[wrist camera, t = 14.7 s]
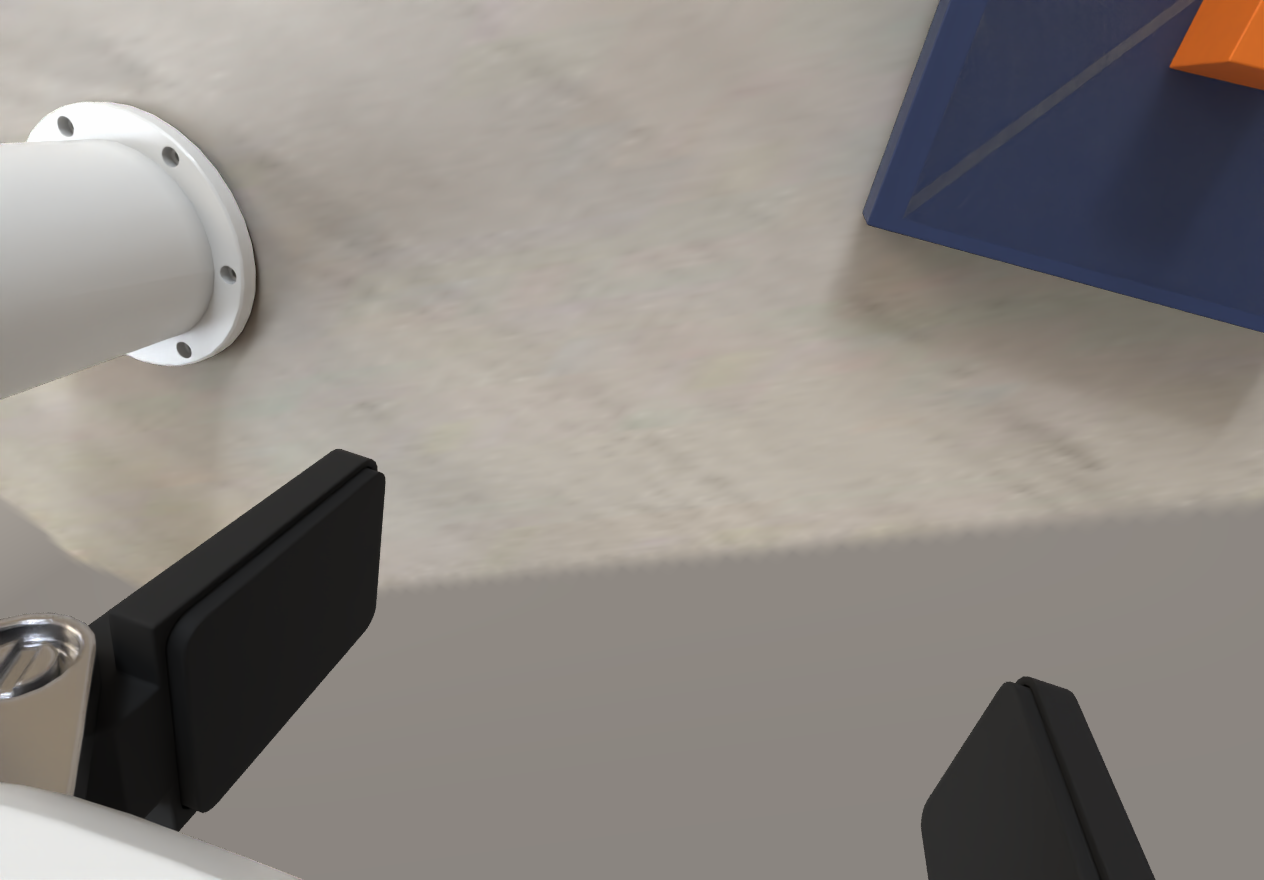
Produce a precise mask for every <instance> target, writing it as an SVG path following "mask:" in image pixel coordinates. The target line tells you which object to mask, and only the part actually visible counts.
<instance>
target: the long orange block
mask: <svg viewBox="0 0 1264 880" xmlns="http://www.w3.org/2000/svg"><path fill="white" fill-rule="evenodd" d="M1170 68H1171V69H1176V70H1180V71H1184V72H1188V73H1193V74H1197V75H1201V76H1205V77H1209V78H1214V79H1218V80H1222V81H1226V82H1230V83H1235V84H1239V85H1243V86H1247V87H1252V88H1256V89H1260V90H1264V0H1203V1H1202V3H1201V5H1200V7H1199V9H1198V11H1197V13H1196V15H1195V17H1194V19H1193V21H1192V23H1191V25H1190V27H1189V29H1188V31H1187V33H1186V35H1185V37H1184V39H1183V41H1182V43H1181V45H1180V46H1179V48H1178V50H1177V52H1176V54H1175V56H1174V58H1173V60H1172V62H1171V64H1170Z"/></svg>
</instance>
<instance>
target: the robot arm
mask: <svg viewBox="0 0 1264 880" xmlns="http://www.w3.org/2000/svg"><path fill="white" fill-rule="evenodd" d="M255 281H256V268H255V261H254V254H253V247H252V243H251V240H250V236H249V233H248V230H247V227H246V223H245V220H244V218H243V216H242V213H241V211H240V209H239V207H238V205H237V203H236V201H235V198H234V196H233V194H232V192H231V191H230V189H229V188H228V186H227V185H226V183H225V182H224V180H223V179H222V177H221V175H220V174H219V172H218V171H217V169H216V168H215V167H214V166H213V165H212V164H211V162H210V161H209V160H208V159H207V158H206V157H205V155H204V154H203V153H202V152H201V151H200V150H199V148H198V147H197V146H195V145H194V144H193V143H192V142H191V141H190V140H189V139H187V138H186V137H185V136H184V135H183V134H182V133H181V132H179V131H178V130H177V129H176V128H174V127H173V126H171V125H169V124H168V123H166V122H165V121H163V120H161V119H160V118H158V117H157V116H155V115H153V114H151V113H148V112H146V111H143V110H141V109H138V108H135V107H133V106H130V105H124V104H118V103H112V102H79V103H75V104H70V105H66V106H62V107H60V108H58V109H57V110H55V111H53V112H51V113H50V114H48V115H46V116H45V117H44V118H43V119H42V120H41V121H40V122H39V123H38V124H37V125H36V126H35V127H34V129H33V130H32V131H31V133H30V135H29V137H28V139H27V141H26V142H21V143H0V400H1V399H4V398H7V397H10V396H12V395H15V394H18V393H21V392H23V391H26V390H29V389H32V388H34V387H37V386H40V385H43V384H45V383H48V382H51V381H54V380H56V379H59V378H62V377H65V376H67V375H70V374H73V373H76V372H78V371H81V370H84V369H87V368H89V367H92V366H95V365H98V364H100V363H103V362H106V361H109V360H111V359H114V358H117V357H120V356H122V355H128V356H130V357H132V358H135V359H137V360H139V361H142V362H147V363H151V364H155V365H160V366H184V365H188V364H193V363H198V362H200V361H202V360H205V359H207V358H209V357H212V356H214V355H217V354H218V353H220V352H221V351H222V350H224V349H225V348H227V347H228V346H230V345H231V344H232V343H233V342H234V340H235V339H236V338H237V337H238V336H239V334H240V333H241V332H242V331H243V329H244V326H245V324H246V322H247V320H248V318H249V316H250V314H251V310H252V305H253V301H254V296H255ZM384 495H385V476H384V474H383V473H381V472H378V471H377V465H376V462H375V461H374V460H372V459H369V458H366V457H363V456H360V455H357V454H354V453H351V452H348V451H345V450H342V449H335V450H333V451H331V452H330V453H329V454H327V455H326V456H324V457H323V458H322V459H320V460H319V461H317V462H316V463H315V464H313V465H312V466H310V467H309V468H308V469H306V470H305V471H303V472H302V473H301V474H299V475H298V476H296V477H295V478H294V479H292V480H291V481H289V482H288V483H287V484H285V485H284V486H282V487H281V488H280V489H278V490H277V491H275V492H274V493H273V494H271V495H270V496H268V497H267V498H266V499H264V500H263V501H261V502H260V503H259V504H257V505H256V506H254V507H253V508H252V509H250V510H249V511H247V512H246V513H245V514H243V515H242V516H240V517H239V518H238V519H236V520H235V521H233V522H232V523H231V524H229V525H228V526H226V527H225V528H224V529H222V530H221V531H219V532H218V533H217V534H215V535H214V536H212V537H211V538H210V539H208V540H207V541H205V542H204V543H203V544H201V545H200V546H198V547H197V548H196V549H194V550H193V551H191V552H190V553H189V554H187V555H186V556H184V557H183V558H182V559H180V560H179V561H177V562H176V563H175V564H173V565H172V566H170V567H169V568H168V569H166V570H165V571H163V572H162V573H161V574H159V575H158V576H156V577H155V578H154V579H152V580H151V581H149V582H148V583H147V584H145V585H144V586H142V587H141V588H140V589H138V590H137V591H135V592H134V593H133V594H131V595H130V596H128V597H127V598H126V599H124V600H123V601H121V602H120V603H119V604H117V605H116V606H114V607H113V608H112V609H110V610H109V611H108V612H106V613H105V614H104V615H102V616H101V617H99V618H98V619H97V620H95V621H94V622H93V623H91V624H90V625H87V624H86V623H84V622H82V621H80V620H78V619H75V618H74V617H72V616H67V615H60V614H55V613H33V614H23V615H18V616H13V617H8V618H3V619H0V880H303V879H300V878H298V877H295V876H293V875H290V874H288V873H285V872H283V871H280V870H278V869H275V868H273V867H270V866H267V865H265V864H262V863H260V862H258V861H255V860H253V859H250V858H247V857H245V856H242V855H239V854H237V853H234V852H231V851H228V850H226V849H223V848H220V847H218V846H215V845H212V844H210V843H207V842H204V841H202V840H199V839H196V838H194V837H191V836H188V835H186V834H183V833H180V832H179V831H180V829H181V828H182V827H183V826H184V825H185V824H186V823H187V822H188V820H189V819H190V818H191V817H192V816H193V815H194V814H195V812H196V811H199V812H202V813H204V812H207V811H209V810H210V809H212V808H213V807H214V806H215V805H216V804H217V803H218V802H219V801H220V799H221V798H222V797H223V796H224V795H225V794H226V793H227V791H228V790H229V789H230V788H231V787H232V786H233V784H234V783H235V782H236V781H237V779H238V778H239V777H240V776H241V775H242V774H243V773H244V772H245V770H246V769H247V768H248V767H249V766H250V765H251V763H252V762H253V761H254V760H255V759H256V758H257V756H258V755H259V754H260V753H261V752H262V751H263V749H264V748H265V747H266V746H267V745H268V744H269V742H270V741H271V740H272V739H273V738H274V737H275V735H276V734H277V733H278V732H279V731H280V730H281V728H282V727H283V726H284V725H285V724H286V723H287V721H288V720H289V719H290V718H291V717H292V715H293V714H294V713H295V712H296V711H297V710H298V708H299V707H300V706H301V705H302V704H303V703H304V702H305V700H306V699H307V698H308V697H309V696H310V694H311V693H312V692H313V691H314V690H315V689H316V687H317V686H318V685H319V684H320V683H321V682H322V680H323V679H324V678H325V677H326V676H327V675H328V674H329V672H330V671H331V670H332V669H333V668H334V667H335V665H336V664H337V663H338V662H339V661H340V660H341V659H342V657H343V656H344V655H345V654H346V653H347V652H348V650H349V649H350V648H351V647H352V646H353V645H354V643H355V642H356V641H357V640H358V639H359V637H360V636H361V635H362V634H363V633H364V632H365V630H366V629H367V628H368V626H369V624H370V622H371V620H372V618H373V616H374V613H375V609H376V599H377V586H378V573H379V560H380V547H381V534H382V521H383V508H384ZM921 831H922V838H923V845H924V852H925V858H926V865H927V872H928V879H929V880H1155V878H1154V875H1153V873H1152V871H1151V869H1150V866H1149V864H1148V862H1147V859H1146V857H1145V855H1144V853H1143V850H1142V848H1141V846H1140V843H1139V841H1138V839H1137V837H1136V834H1135V832H1134V830H1133V827H1132V825H1131V823H1130V820H1129V819H1128V816H1127V814H1126V811H1125V809H1124V807H1123V804H1122V802H1121V800H1120V798H1119V795H1118V793H1117V791H1116V789H1115V786H1114V784H1113V782H1112V779H1111V777H1110V775H1109V773H1108V770H1107V768H1106V766H1105V763H1104V761H1103V759H1102V756H1101V754H1100V752H1099V750H1098V747H1097V745H1096V743H1095V740H1094V738H1093V736H1092V734H1091V731H1090V729H1089V727H1088V724H1087V722H1086V720H1085V717H1084V715H1083V713H1082V711H1081V708H1080V706H1079V704H1078V701H1077V699H1076V698H1075V696H1074V694H1073V693H1072V692H1071V691H1069V690H1067V689H1064V688H1061V687H1058V686H1055V685H1052V684H1049V683H1046V682H1043V681H1040V680H1037V679H1034V678H1031V677H1022V678H1020V679H1019V680H1018V681H1017V682H1016V683H1013V682H1006V683H1004V684H1003V685H1002V686H1001V687H1000V689H999V690H998V692H997V693H996V695H995V696H994V698H993V700H992V701H991V703H990V704H989V706H988V707H987V709H986V710H985V712H984V713H983V715H982V716H981V718H980V720H979V721H978V723H977V724H976V726H975V727H974V729H973V730H972V732H971V733H970V735H969V737H968V738H967V740H966V741H965V743H964V744H963V746H962V747H961V749H960V751H959V752H958V754H957V755H956V757H955V758H954V760H953V761H952V763H951V765H950V766H949V768H948V769H947V771H946V772H945V774H944V775H943V777H942V778H941V780H940V781H939V783H938V785H937V786H936V788H935V789H934V791H933V793H932V794H931V795H930V797H929V799H928V800H927V802H926V804H925V806H924V809H923V813H922V819H921Z"/></svg>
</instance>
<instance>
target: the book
mask: <svg viewBox="0 0 1264 880" xmlns="http://www.w3.org/2000/svg"><path fill="white" fill-rule="evenodd" d="M1202 1H1203V0H940V1H939V4H938V7H937V10H936V12H935V15H934V18H933V21H932V23H931V26H930V29H929V32H928V34H927V37H926V40H925V43H924V45H923V48H922V51H921V53H920V56H919V59H918V62H917V64H916V67H915V70H914V73H913V75H912V78H911V81H910V84H909V86H908V89H907V92H906V95H905V97H904V100H903V103H902V106H901V108H900V111H899V114H898V116H897V119H896V122H895V125H894V127H893V130H892V133H891V136H890V138H889V141H888V144H887V147H886V149H885V152H884V155H883V158H882V160H881V163H880V166H879V169H878V171H877V174H876V177H875V179H874V182H873V185H872V188H871V190H870V193H869V196H868V199H867V201H866V204H865V207H864V210H863V215H864V218H865V220H866V223H867V224H868V225H870V226H873V227H877V228H880V229H884V230H888V231H891V232H895V233H899V234H902V235H906V236H910V237H913V238H917V239H921V240H924V241H928V242H932V243H935V244H939V245H943V246H946V247H950V248H954V249H958V250H961V251H965V252H969V253H972V254H976V255H980V256H983V257H987V258H991V259H994V260H998V261H1002V262H1005V263H1009V264H1013V265H1016V266H1020V267H1024V268H1027V269H1031V270H1035V271H1038V272H1042V273H1046V274H1049V275H1053V276H1057V277H1060V278H1064V279H1068V280H1071V281H1075V282H1079V283H1083V284H1086V285H1090V286H1094V287H1097V288H1101V289H1105V290H1108V291H1112V292H1116V293H1119V294H1123V295H1127V296H1130V297H1134V298H1138V299H1141V300H1145V301H1149V302H1152V303H1156V304H1160V305H1163V306H1167V307H1171V308H1174V309H1178V310H1182V311H1185V312H1189V313H1193V314H1196V315H1200V316H1204V317H1208V318H1211V319H1215V320H1219V321H1222V322H1226V323H1230V324H1233V325H1237V326H1241V327H1244V328H1248V329H1252V330H1255V331H1259V332H1263V333H1264V90H1260V89H1256V88H1252V87H1247V86H1243V85H1239V84H1235V83H1230V82H1226V81H1222V80H1218V79H1214V78H1209V77H1205V76H1201V75H1197V74H1193V73H1188V72H1184V71H1180V70H1176V69H1171V68H1170V64H1171V62H1172V60H1173V58H1174V56H1175V54H1176V52H1177V50H1178V48H1179V46H1180V45H1181V43H1182V41H1183V39H1184V37H1185V35H1186V33H1187V31H1188V29H1189V27H1190V25H1191V23H1192V21H1193V19H1194V17H1195V15H1196V13H1197V11H1198V9H1199V7H1200V5H1201V3H1202Z"/></svg>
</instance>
